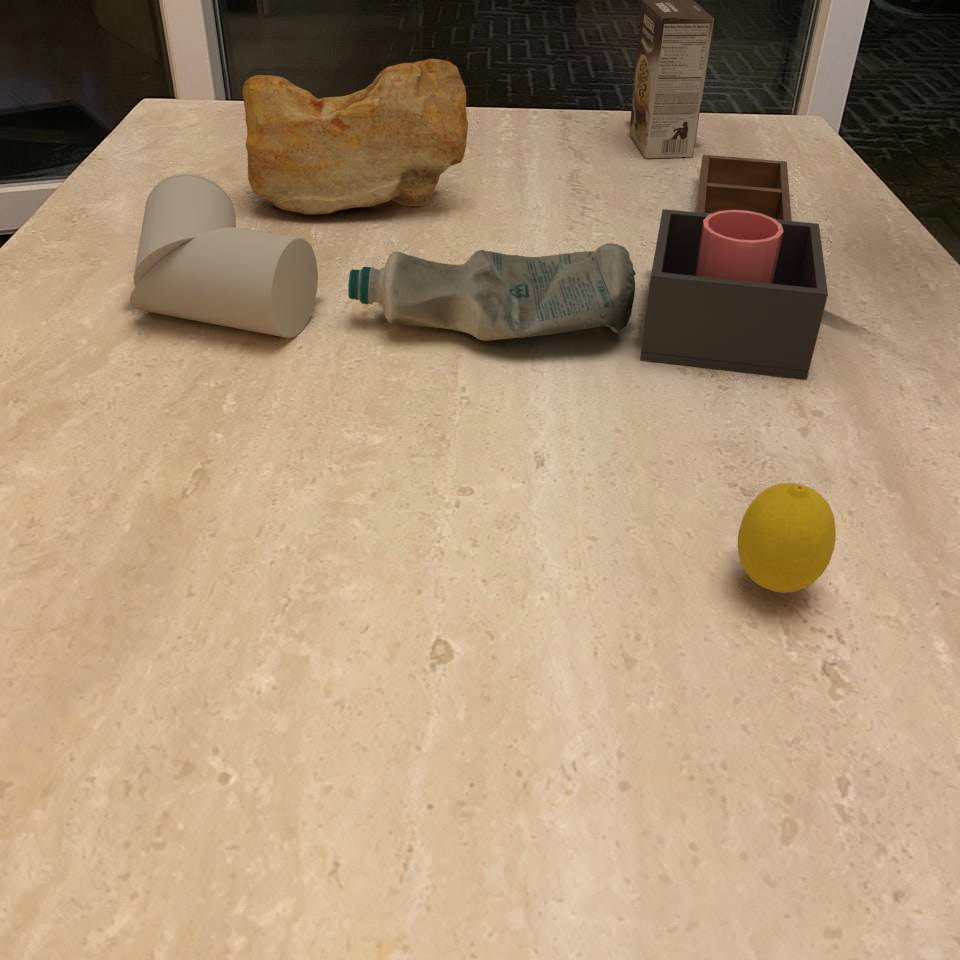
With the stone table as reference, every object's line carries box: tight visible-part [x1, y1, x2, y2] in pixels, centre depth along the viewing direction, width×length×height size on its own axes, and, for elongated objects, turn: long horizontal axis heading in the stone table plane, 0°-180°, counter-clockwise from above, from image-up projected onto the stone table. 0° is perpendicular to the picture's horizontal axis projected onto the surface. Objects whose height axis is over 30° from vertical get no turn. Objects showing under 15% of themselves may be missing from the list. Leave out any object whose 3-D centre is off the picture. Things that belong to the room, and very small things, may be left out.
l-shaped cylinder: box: [129, 172, 319, 339], centre depth 89 cm, size 18×10×20 cm
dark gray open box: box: [640, 208, 829, 380], centre depth 86 cm, size 14×14×8 cm
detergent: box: [347, 243, 637, 342], centre depth 87 cm, size 13×7×25 cm
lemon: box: [737, 482, 837, 594], centre depth 60 cm, size 6×6×8 cm
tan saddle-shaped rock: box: [242, 58, 469, 215], centre depth 108 cm, size 23×17×15 cm
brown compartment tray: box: [694, 154, 793, 221], centre depth 108 cm, size 9×18×3 cm, turn 168°
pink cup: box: [695, 210, 783, 284], centre depth 85 cm, size 6×6×9 cm
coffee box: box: [628, 0, 715, 159], centre depth 120 cm, size 9×6×16 cm
